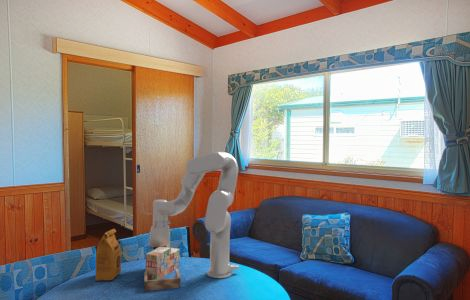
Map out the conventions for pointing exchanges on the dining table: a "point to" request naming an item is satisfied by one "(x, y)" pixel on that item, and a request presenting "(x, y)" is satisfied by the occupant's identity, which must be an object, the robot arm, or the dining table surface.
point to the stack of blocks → (161, 262)
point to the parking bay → (162, 282)
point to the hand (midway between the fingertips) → (159, 259)
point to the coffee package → (108, 257)
